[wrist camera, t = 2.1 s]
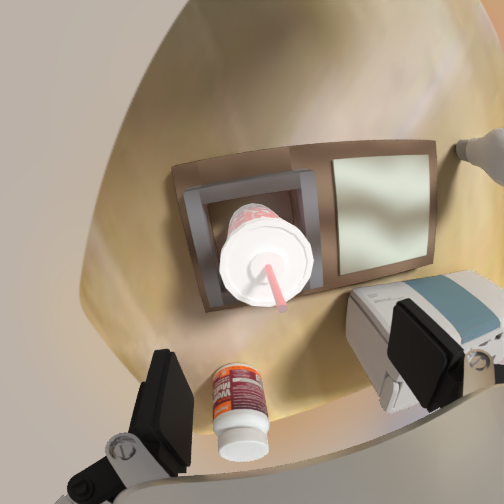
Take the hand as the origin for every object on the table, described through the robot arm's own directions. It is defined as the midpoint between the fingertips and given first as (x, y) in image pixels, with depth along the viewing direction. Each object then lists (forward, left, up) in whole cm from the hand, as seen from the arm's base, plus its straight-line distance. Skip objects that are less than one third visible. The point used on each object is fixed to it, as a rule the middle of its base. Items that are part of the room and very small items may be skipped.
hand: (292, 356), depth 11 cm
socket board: (0, +7, -17) cm, 18 cm away
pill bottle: (+19, -5, -17) cm, 26 cm away
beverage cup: (0, 0, -17) cm, 17 cm away
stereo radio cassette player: (+12, +19, -17) cm, 29 cm away
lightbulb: (-6, +26, -17) cm, 32 cm away
